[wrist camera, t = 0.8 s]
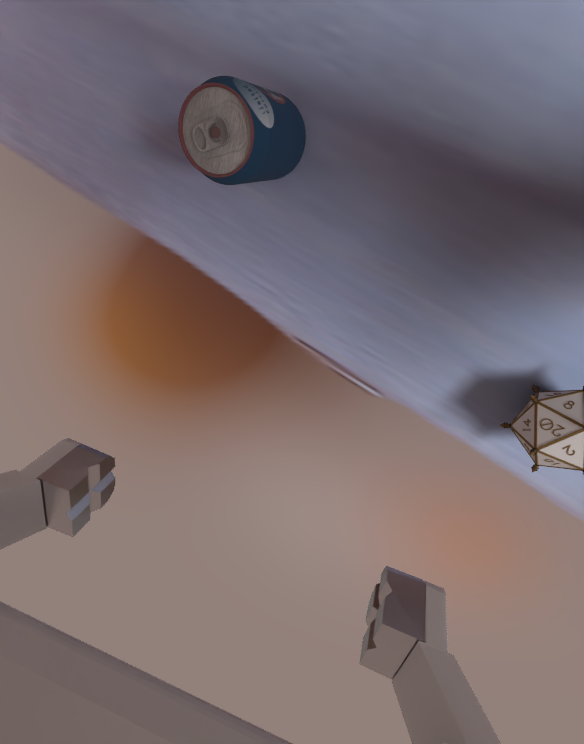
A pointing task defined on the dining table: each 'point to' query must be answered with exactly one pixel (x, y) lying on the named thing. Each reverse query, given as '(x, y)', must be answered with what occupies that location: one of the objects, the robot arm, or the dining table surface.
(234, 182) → the soda can
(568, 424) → the game die
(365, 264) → the dining table surface
